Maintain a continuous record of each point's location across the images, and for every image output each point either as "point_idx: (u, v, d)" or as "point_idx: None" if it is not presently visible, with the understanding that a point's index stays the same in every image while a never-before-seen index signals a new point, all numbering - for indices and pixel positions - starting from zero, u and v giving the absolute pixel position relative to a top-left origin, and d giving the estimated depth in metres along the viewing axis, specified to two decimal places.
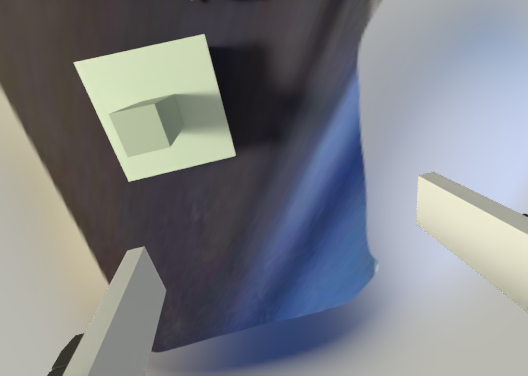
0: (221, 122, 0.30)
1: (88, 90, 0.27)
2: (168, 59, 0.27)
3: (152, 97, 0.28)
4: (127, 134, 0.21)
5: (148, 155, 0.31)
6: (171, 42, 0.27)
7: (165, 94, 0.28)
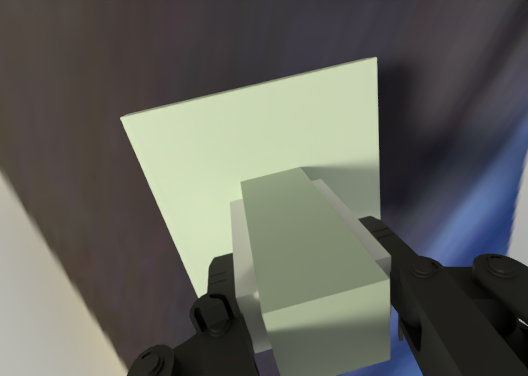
0: (370, 209, 0.17)
1: (145, 166, 0.14)
2: (301, 106, 0.14)
3: (261, 174, 0.15)
4: (299, 349, 0.08)
5: None
6: (313, 74, 0.13)
7: (285, 168, 0.15)
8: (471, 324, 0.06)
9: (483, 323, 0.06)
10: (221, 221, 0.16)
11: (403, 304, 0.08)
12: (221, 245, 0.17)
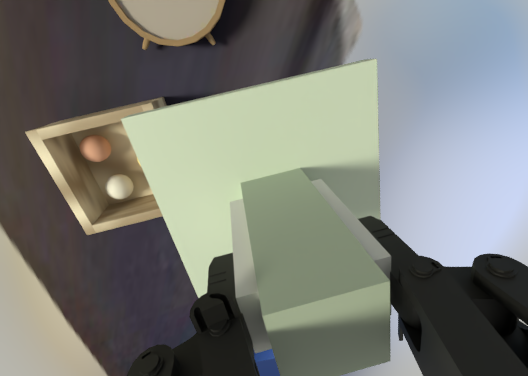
0: (370, 209, 0.17)
1: (145, 168, 0.14)
2: (302, 107, 0.14)
3: (261, 175, 0.15)
4: (299, 350, 0.08)
5: None
6: (313, 75, 0.13)
7: (285, 169, 0.15)
8: (471, 324, 0.06)
9: (483, 323, 0.06)
10: (221, 222, 0.16)
11: (403, 304, 0.08)
12: (221, 246, 0.17)
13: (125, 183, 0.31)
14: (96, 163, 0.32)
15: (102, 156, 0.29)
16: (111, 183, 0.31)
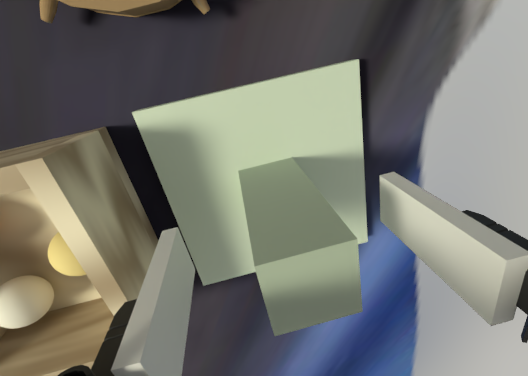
0: (356, 196, 0.19)
1: (153, 156, 0.16)
2: (292, 103, 0.16)
3: (257, 164, 0.17)
4: (285, 298, 0.09)
5: (238, 248, 0.19)
6: (302, 74, 0.15)
7: (278, 158, 0.17)
8: None
9: None
10: (220, 206, 0.18)
11: None
12: (221, 229, 0.18)
13: (28, 301, 0.15)
14: None
15: None
16: None
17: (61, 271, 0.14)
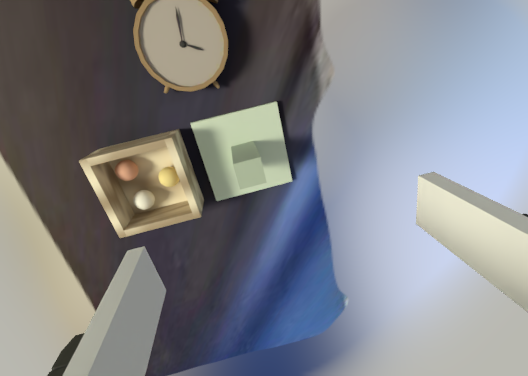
0: (283, 158, 0.43)
1: (197, 140, 0.40)
2: (251, 118, 0.40)
3: (238, 143, 0.41)
4: (242, 175, 0.33)
5: (231, 182, 0.43)
6: (254, 108, 0.39)
7: (247, 141, 0.41)
8: None
9: None
10: (224, 162, 0.42)
11: None
12: (224, 173, 0.42)
13: (149, 197, 0.39)
14: (126, 181, 0.40)
15: (132, 176, 0.38)
16: (138, 197, 0.39)
17: (164, 183, 0.38)
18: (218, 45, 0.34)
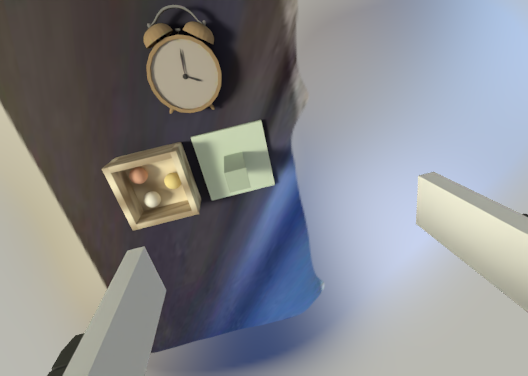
0: (267, 166, 0.52)
1: (196, 151, 0.49)
2: (240, 134, 0.48)
3: (230, 153, 0.50)
4: (231, 182, 0.42)
5: (224, 185, 0.52)
6: (243, 125, 0.48)
7: (237, 152, 0.50)
8: None
9: None
10: (218, 168, 0.50)
11: None
12: (218, 177, 0.51)
13: (156, 197, 0.48)
14: (137, 184, 0.49)
15: (143, 180, 0.47)
16: (148, 197, 0.48)
17: (169, 186, 0.47)
18: (214, 77, 0.42)
